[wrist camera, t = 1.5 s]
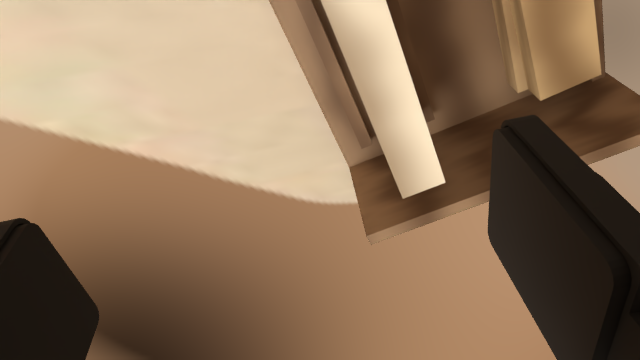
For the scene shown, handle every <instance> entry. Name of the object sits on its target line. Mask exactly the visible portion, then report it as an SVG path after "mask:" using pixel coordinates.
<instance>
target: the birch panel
mask: <svg viewBox="0 0 640 360" xmlns="http://www.w3.org/2000/svg"><path fill="white" fill-rule="evenodd" d="M321 2H322V5H323V7H324V9H325V12H326V14H327V17H328V19H329V22H330V24H331V26H332V29H333V31H334V34H335V36H336V38H337V41H338V43H339V46H340V48H341V51H342V53H343V55H344V58H345V60H346V63H347V65H348V68H349V70H350V72H351V75H352V77H353V80H354V82H355V84H356V87H357V89H358V92H359V94H360V97H361V99H362V101H363V104H364V106H365V109H366V111H367V114H368V116H369V118H370V121H371V123H372V126H373V128H374V130H375V133H376V135H377V138H378V140H379V143H380V145H381V147H382V150H383V152H384V155H385V157H386V160H387V162H388V164H389V167H390V169H391V172H392V174H393V176H394V179H395V181H396V184H397V186H398V189H399V191H400V193H401V196H402V198H403V199H404V198H407V197H409V196H412V195H414V194H417V193H420V192H422V191H425V190H427V189H430V188H433V187H435V186H438V185H441V184H443V183H446V182H445V179H444V176H443V173H442V170H441V167H440V164H439V161H438V158H437V155H436V152H435V149H434V146H433V142H432V139H431V136H430V133H429V130H428V127H427V124H426V121H425V118H424V115H423V112H422V109H421V106H420V103H419V100H418V97H417V94H416V91H415V88H414V85H413V82H412V79H411V75H410V72H409V69H408V66H407V63H406V60H405V57H404V54H403V51H402V48H401V45H400V42H399V39H398V36H397V33H396V30H395V27H394V24H393V21H392V18H391V15H390V12H389V8H388V5H387V2H386V0H321Z"/></svg>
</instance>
